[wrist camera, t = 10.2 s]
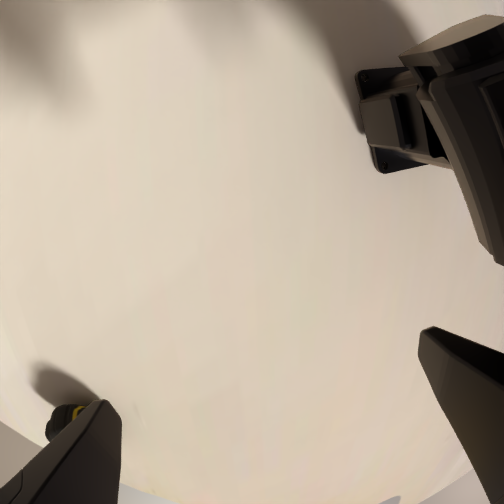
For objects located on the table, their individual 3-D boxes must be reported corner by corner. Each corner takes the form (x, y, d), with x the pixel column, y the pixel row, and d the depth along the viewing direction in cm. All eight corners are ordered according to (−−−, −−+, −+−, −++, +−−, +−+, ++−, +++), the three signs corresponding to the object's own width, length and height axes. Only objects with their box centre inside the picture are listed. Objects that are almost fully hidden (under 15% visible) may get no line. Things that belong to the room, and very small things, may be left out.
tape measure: (45, 415, 23) (41, 445, 19) (63, 387, 21) (58, 422, 18) (103, 437, 26) (103, 466, 23) (129, 413, 25) (130, 446, 21)
